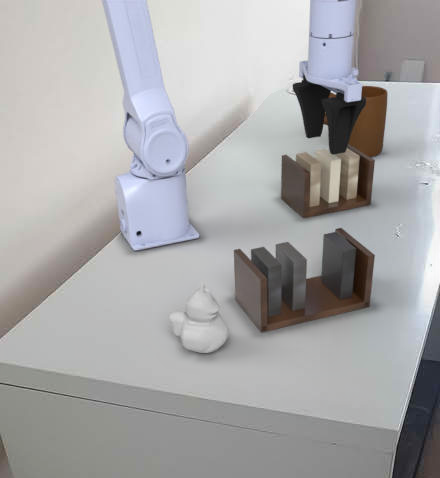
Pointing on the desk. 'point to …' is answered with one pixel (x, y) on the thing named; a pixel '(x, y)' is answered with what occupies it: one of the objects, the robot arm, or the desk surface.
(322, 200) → the brown wooden book rack
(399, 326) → the desk surface
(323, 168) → the white book
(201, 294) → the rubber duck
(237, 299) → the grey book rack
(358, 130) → the mug
